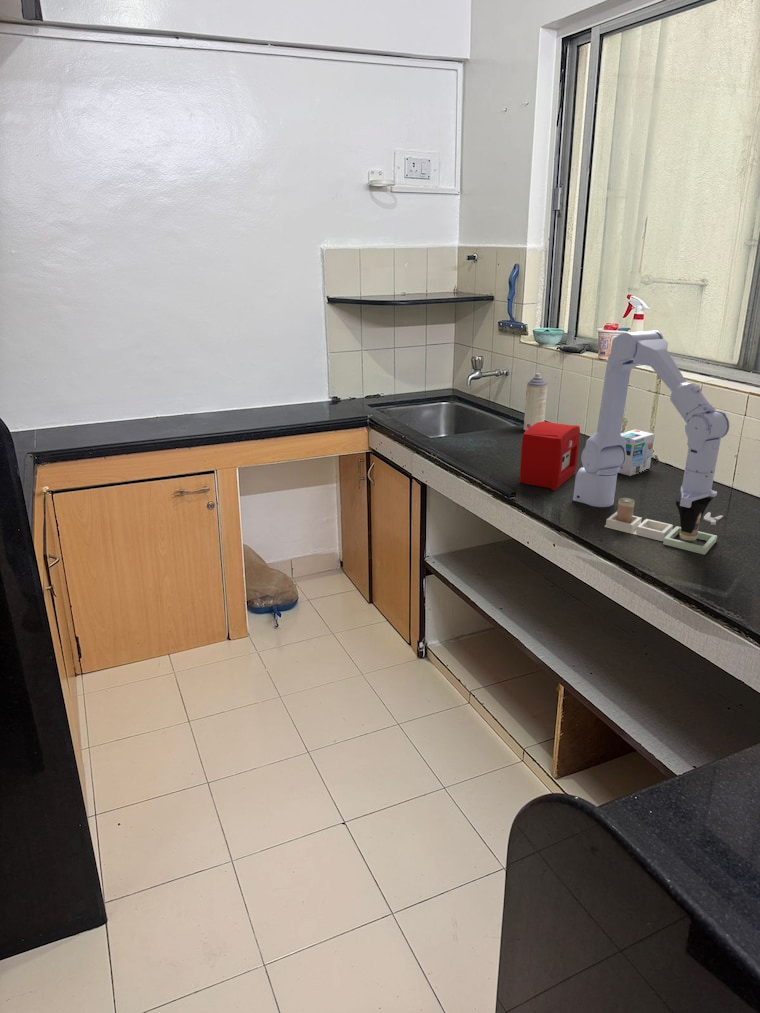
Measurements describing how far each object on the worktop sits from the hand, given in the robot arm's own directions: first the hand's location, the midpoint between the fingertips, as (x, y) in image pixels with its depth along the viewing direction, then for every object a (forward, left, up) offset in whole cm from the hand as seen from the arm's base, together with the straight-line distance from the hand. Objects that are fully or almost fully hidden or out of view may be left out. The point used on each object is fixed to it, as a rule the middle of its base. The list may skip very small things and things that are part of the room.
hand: (689, 529), depth 150 cm
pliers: (0, +13, -4) cm, 14 cm away
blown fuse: (0, 0, -2) cm, 2 cm away
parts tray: (+1, 0, -4) cm, 4 cm away
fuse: (-14, +1, -3) cm, 15 cm away
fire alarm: (-44, +23, -4) cm, 50 cm away
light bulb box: (-29, +45, -4) cm, 54 cm away
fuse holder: (-11, +1, -4) cm, 12 cm away
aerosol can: (-71, +67, -4) cm, 98 cm away
